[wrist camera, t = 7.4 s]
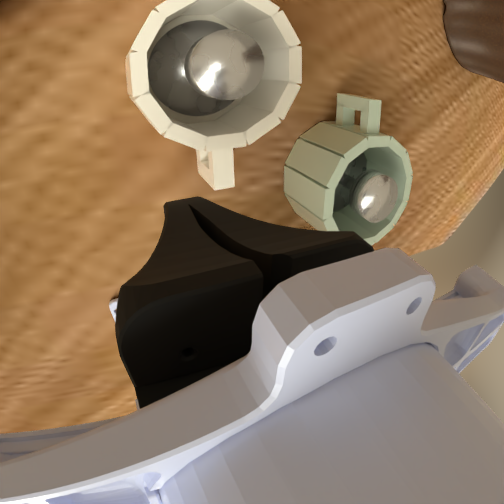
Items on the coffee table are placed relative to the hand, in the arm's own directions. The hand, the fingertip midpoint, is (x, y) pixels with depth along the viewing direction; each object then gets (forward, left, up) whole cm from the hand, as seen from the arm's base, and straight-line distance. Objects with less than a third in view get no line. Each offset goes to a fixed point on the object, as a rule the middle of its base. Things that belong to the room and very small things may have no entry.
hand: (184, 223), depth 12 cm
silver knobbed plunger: (+6, -3, -10) cm, 12 cm away
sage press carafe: (-2, -14, -10) cm, 18 cm away
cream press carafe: (+4, -3, -10) cm, 12 cm away
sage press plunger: (-3, -14, -10) cm, 18 cm away
